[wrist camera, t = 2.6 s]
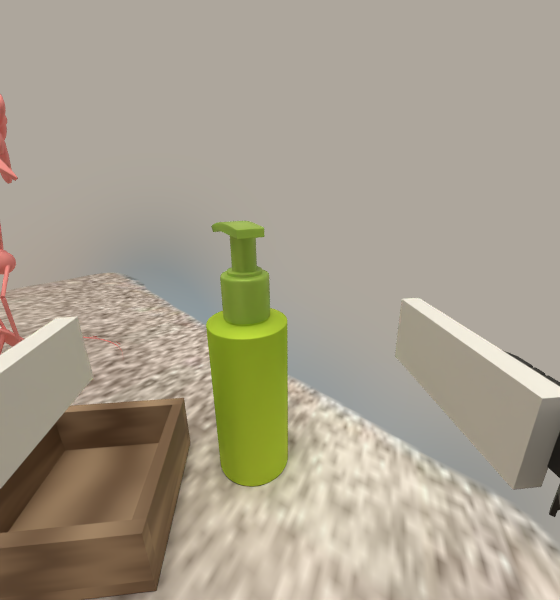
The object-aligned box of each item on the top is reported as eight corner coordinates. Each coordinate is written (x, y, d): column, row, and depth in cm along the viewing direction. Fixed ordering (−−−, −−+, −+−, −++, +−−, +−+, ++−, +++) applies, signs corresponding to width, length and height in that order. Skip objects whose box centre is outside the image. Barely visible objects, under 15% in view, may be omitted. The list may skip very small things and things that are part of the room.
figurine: (10, 454, 27) (-184, -71, 16) (-30, 358, 43) (-141, 61, 32) (167, 379, 38) (119, 37, 27) (90, 325, 54) (39, 95, 43)
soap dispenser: (264, 416, 32) (257, 216, 25) (300, 467, 26) (304, 225, 19) (208, 438, 29) (183, 221, 22) (235, 499, 23) (211, 232, 16)
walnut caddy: (-51, 615, 17) (-90, 557, 15) (63, 452, 28) (48, 407, 26) (156, 590, 18) (141, 533, 16) (190, 442, 28) (183, 397, 27)
